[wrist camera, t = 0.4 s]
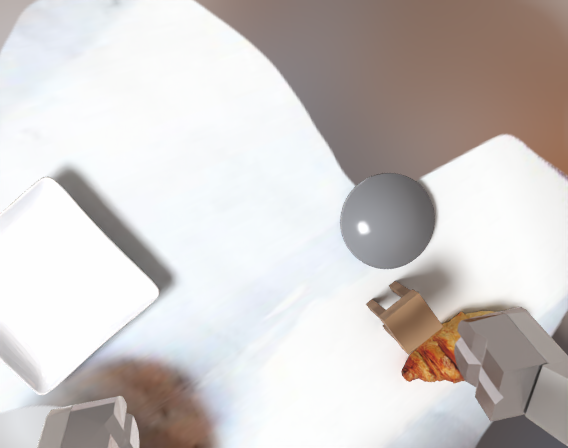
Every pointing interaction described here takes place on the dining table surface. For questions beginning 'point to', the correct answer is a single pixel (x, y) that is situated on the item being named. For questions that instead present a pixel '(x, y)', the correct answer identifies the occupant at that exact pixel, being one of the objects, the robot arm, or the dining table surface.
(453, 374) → the croissant
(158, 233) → the dining table surface
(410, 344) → the stool
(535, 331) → the robot arm
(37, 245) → the salad plate
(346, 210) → the grey flat disc
